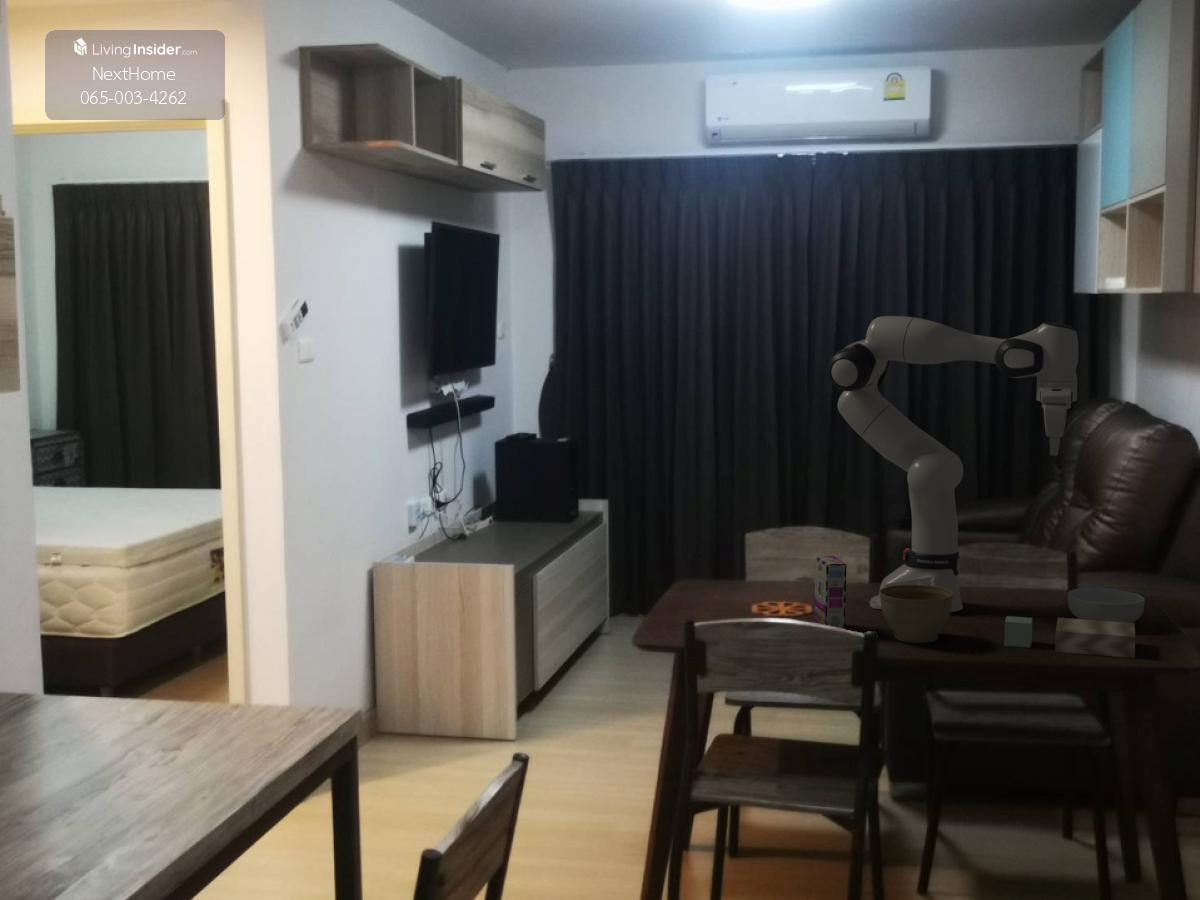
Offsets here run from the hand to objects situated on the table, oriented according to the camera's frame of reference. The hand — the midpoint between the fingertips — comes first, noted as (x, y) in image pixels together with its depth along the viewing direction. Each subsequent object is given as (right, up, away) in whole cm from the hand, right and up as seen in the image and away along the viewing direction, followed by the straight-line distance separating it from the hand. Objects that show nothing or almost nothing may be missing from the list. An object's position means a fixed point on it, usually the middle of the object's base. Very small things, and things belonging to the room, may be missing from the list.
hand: (1054, 453), depth 310 cm
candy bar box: (-52, -41, +3) cm, 66 cm away
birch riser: (+3, -43, -16) cm, 46 cm away
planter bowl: (-34, -42, -7) cm, 54 cm away
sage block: (-12, -42, -12) cm, 46 cm away
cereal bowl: (+13, -41, +5) cm, 43 cm away
